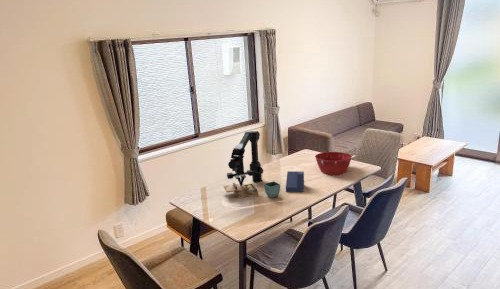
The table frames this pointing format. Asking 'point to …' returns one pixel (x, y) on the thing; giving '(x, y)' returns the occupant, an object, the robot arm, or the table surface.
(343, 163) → the mixing bowl
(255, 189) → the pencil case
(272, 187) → the flower pot
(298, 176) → the phone stand
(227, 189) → the lid
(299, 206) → the table surface
